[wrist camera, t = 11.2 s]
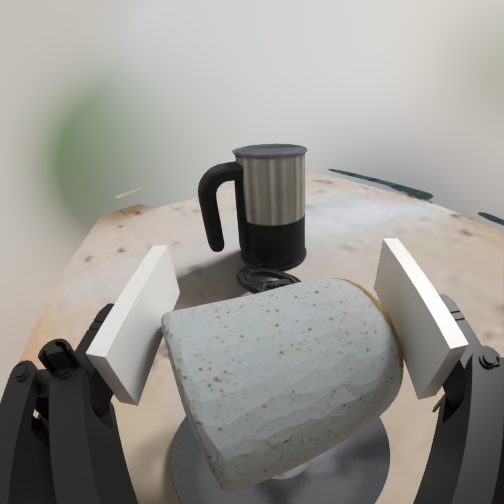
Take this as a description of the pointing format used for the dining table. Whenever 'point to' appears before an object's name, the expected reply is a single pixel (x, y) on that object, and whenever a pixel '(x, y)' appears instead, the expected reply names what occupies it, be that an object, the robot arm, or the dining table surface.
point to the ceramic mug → (282, 374)
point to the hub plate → (291, 473)
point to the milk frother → (261, 210)
